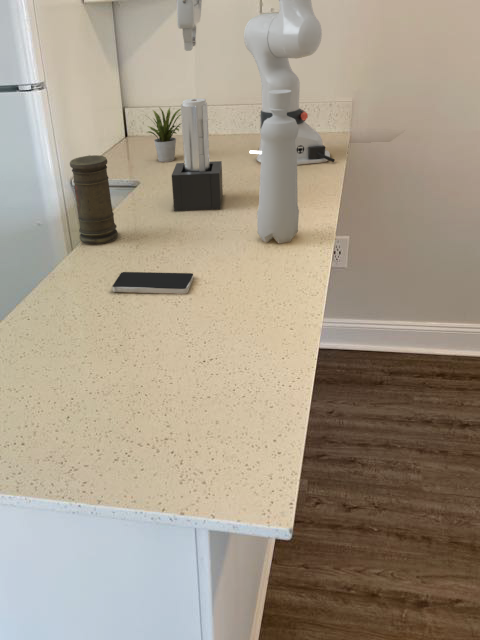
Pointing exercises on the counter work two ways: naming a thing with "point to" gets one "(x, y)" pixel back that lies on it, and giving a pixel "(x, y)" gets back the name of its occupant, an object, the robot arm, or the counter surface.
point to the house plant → (165, 136)
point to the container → (93, 200)
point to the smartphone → (153, 282)
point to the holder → (197, 188)
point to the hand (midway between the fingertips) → (190, 48)
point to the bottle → (278, 172)
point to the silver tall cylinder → (195, 135)
